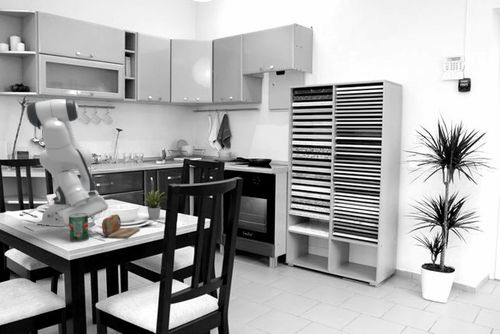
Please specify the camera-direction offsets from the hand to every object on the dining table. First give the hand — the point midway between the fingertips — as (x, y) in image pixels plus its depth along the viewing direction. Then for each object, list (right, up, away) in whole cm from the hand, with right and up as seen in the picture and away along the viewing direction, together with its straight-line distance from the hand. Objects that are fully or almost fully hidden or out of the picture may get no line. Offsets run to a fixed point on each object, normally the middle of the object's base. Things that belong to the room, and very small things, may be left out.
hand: (92, 226), depth 199 cm
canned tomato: (-4, -5, -5) cm, 8 cm away
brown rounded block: (+7, -4, +5) cm, 10 cm away
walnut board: (+13, -4, +4) cm, 15 cm away
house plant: (+19, -1, +37) cm, 42 cm away
